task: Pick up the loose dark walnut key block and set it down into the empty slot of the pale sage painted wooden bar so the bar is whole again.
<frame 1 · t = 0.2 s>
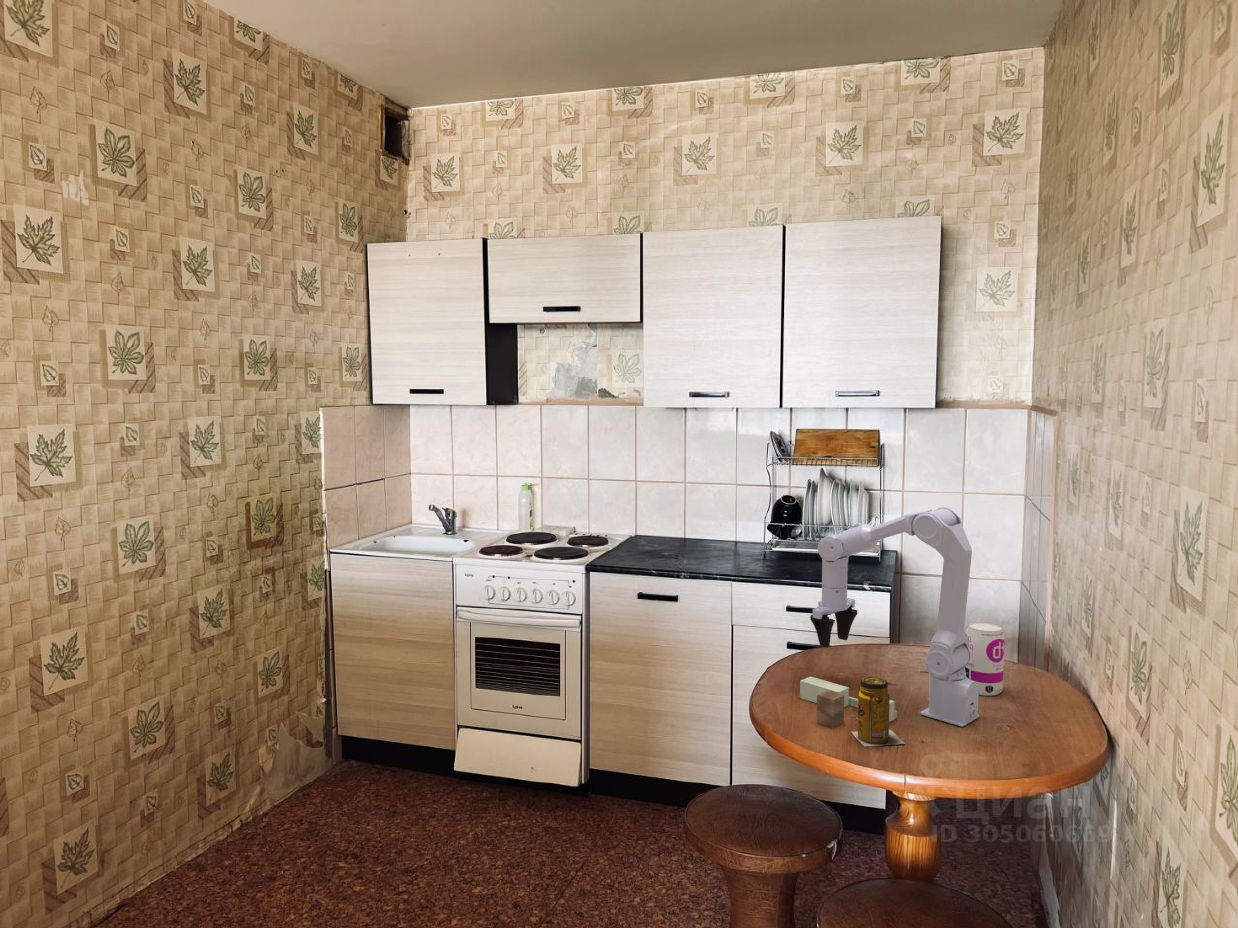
hand: (833, 642, 201), 10 cm above the table, fingers open, 7 cm apart
walnut key block: (830, 722, 180), on the table
supplement can: (983, 691, 198), on the table
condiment: (877, 739, 172), on the table
sage bar: (845, 708, 188), on the table
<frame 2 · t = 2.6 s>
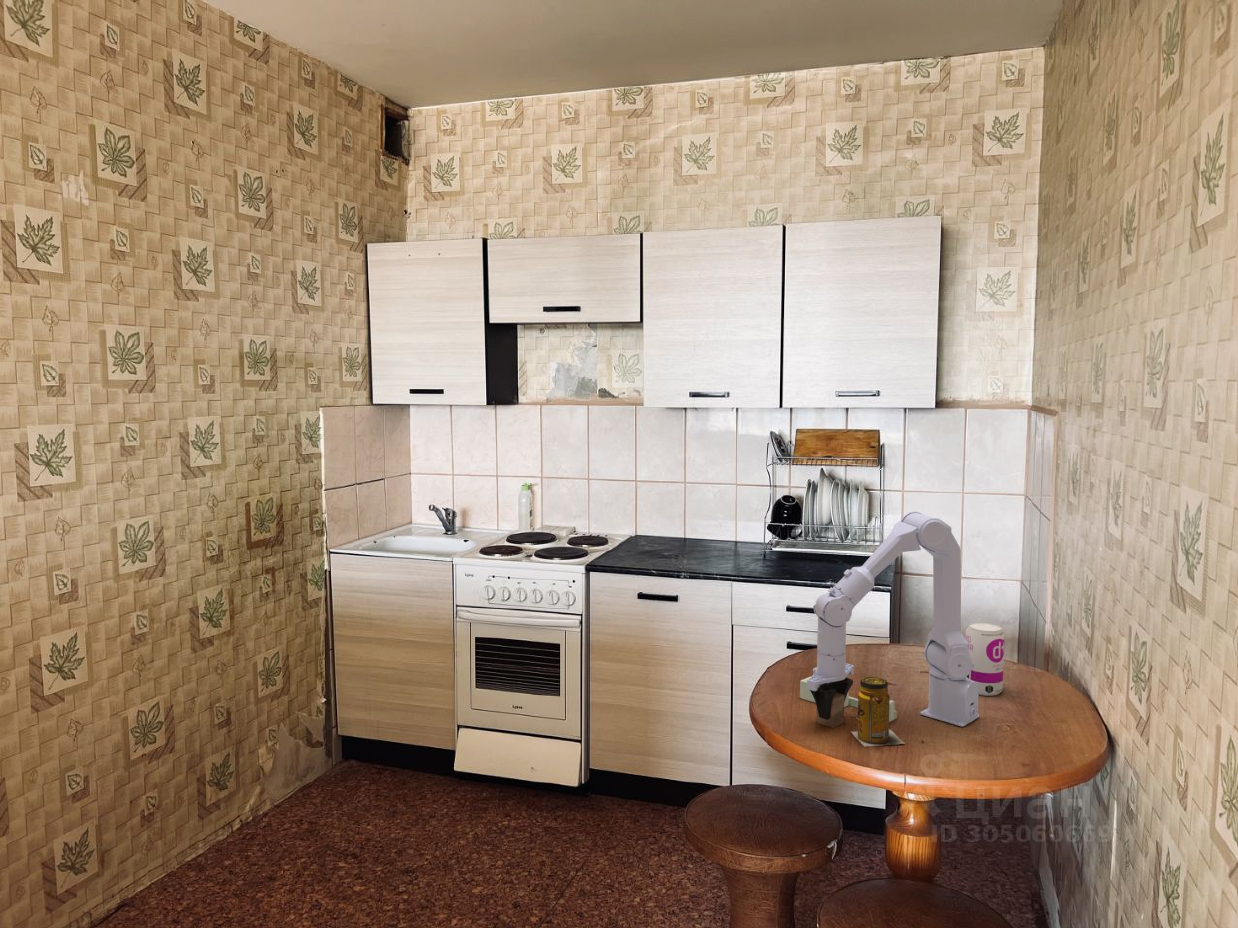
hand: (830, 714, 180), 2 cm above the table, fingers closed on walnut key block, 4 cm apart
walnut key block: (830, 722, 180), on the table, touching gripper
everything else where it was.
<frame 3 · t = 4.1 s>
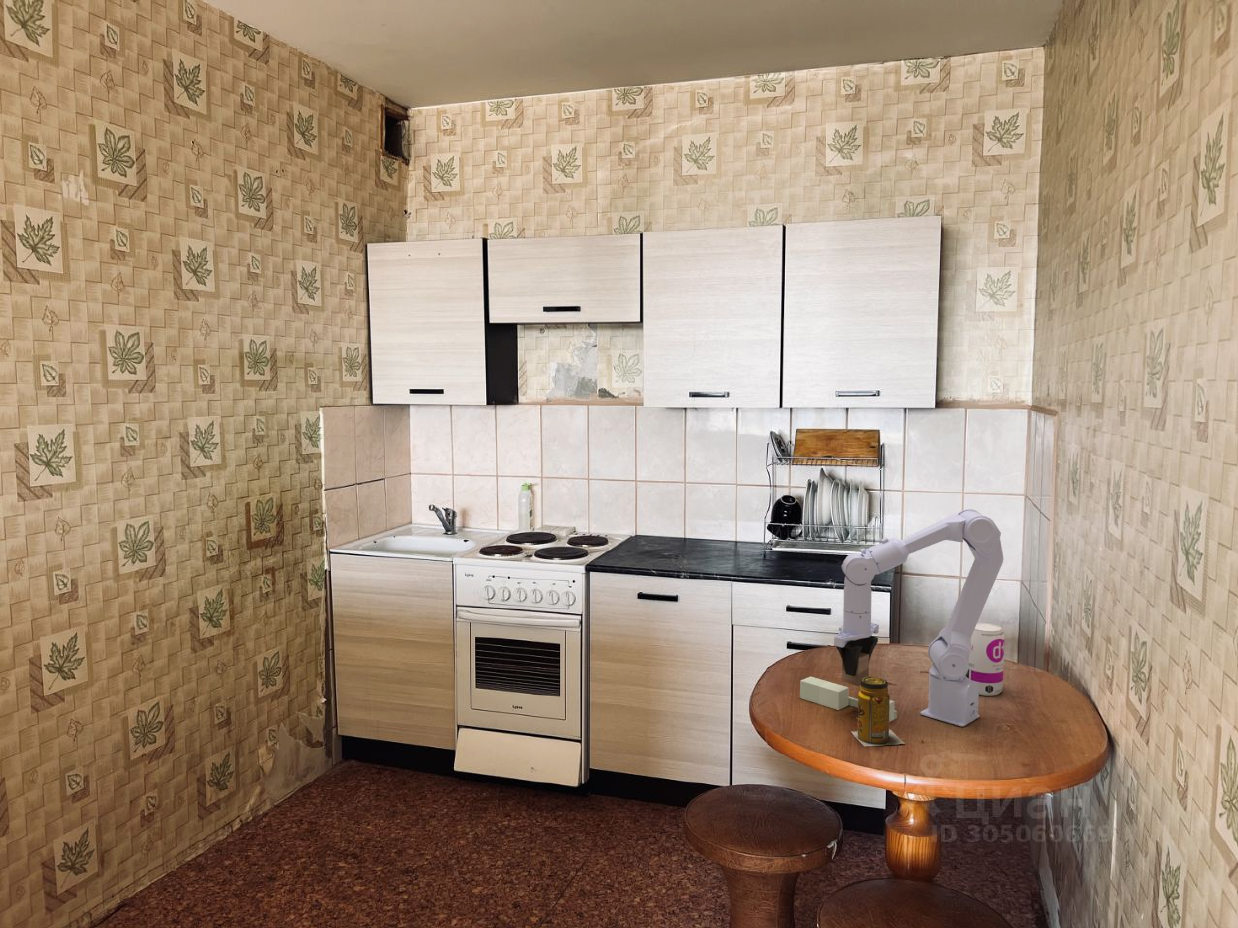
hand: (856, 671, 185), 9 cm above the table, fingers closed on walnut key block, 4 cm apart
walnut key block: (855, 681, 185), point 7 cm above the table, touching gripper
everything else where it was.
when the fingers open (3 cm above the table, at t = 5.7 s): walnut key block stays where it is, on the table.
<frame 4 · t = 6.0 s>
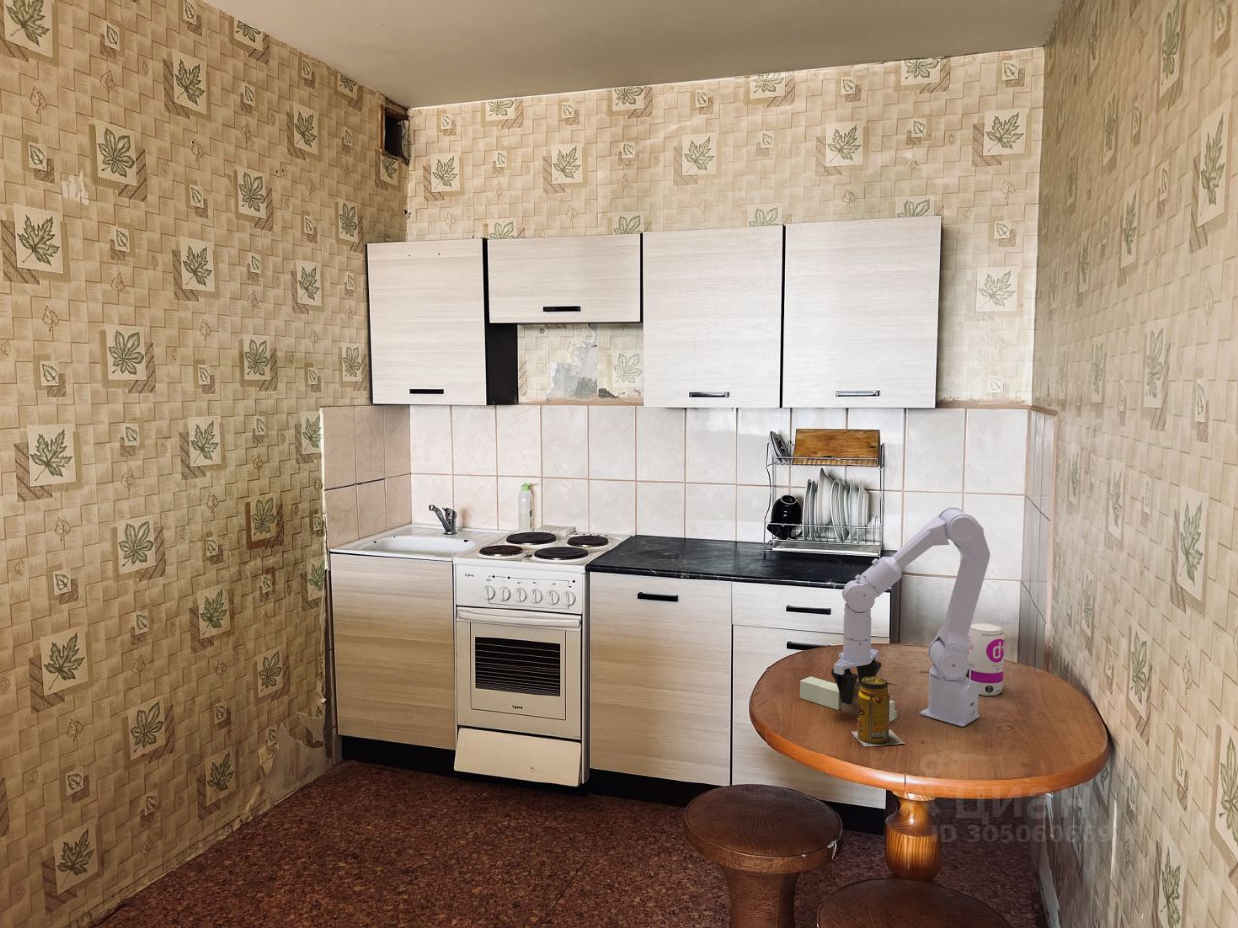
hand: (855, 698, 185), 3 cm above the table, fingers open, 7 cm apart
walnut key block: (854, 711, 186), on the table
everything else where it was.
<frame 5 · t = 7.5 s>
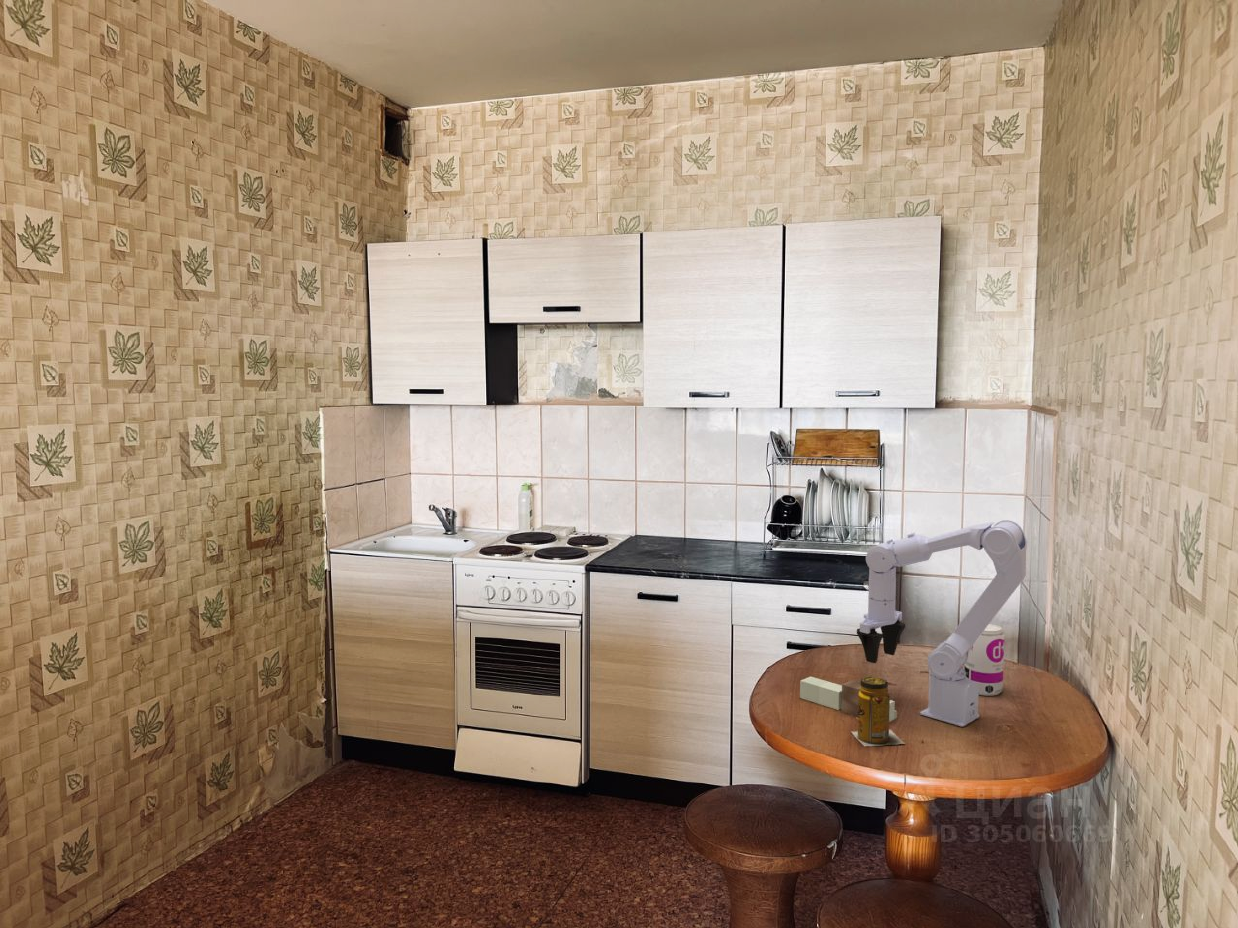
hand: (880, 657, 190), 10 cm above the table, fingers open, 7 cm apart
nothing on the table moved.
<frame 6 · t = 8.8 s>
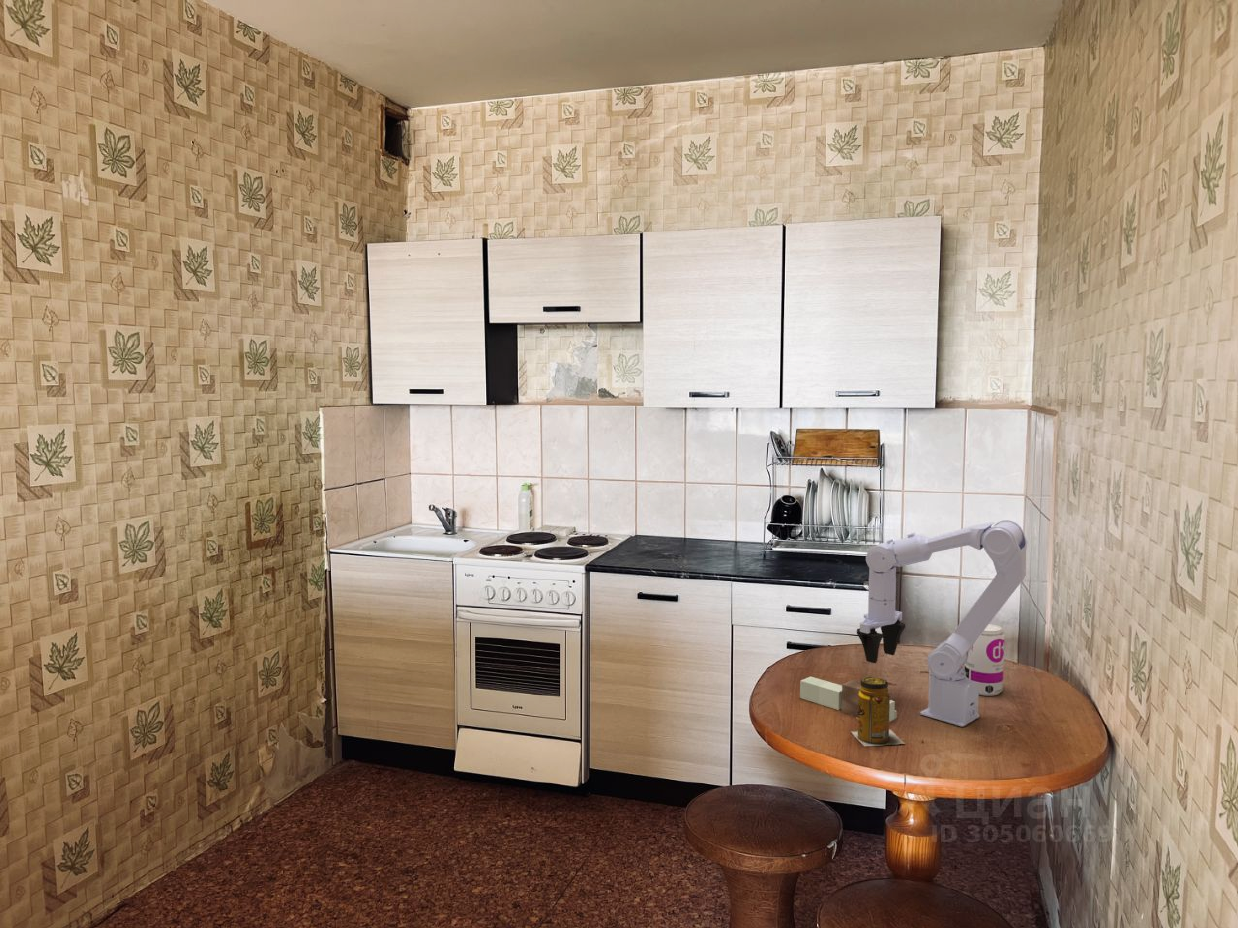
hand: (880, 657, 190), 10 cm above the table, fingers open, 7 cm apart
nothing on the table moved.
at the end: walnut key block 0.2 cm from the target spot on the sage bar, point 0.0 cm above the sage bar's base; walnut key block tilted 0°; the gripper is holding nothing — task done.
